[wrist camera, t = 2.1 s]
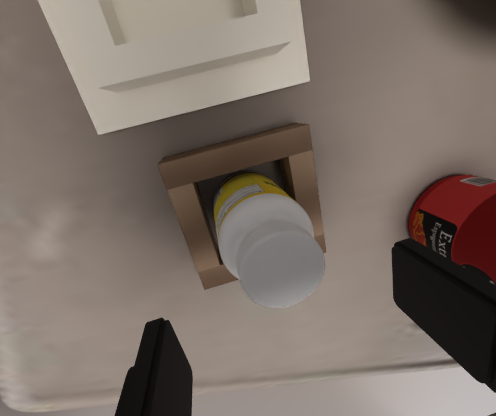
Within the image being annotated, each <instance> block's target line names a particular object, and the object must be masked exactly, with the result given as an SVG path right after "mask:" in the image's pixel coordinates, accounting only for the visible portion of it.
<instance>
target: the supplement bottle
mask: <svg viewBox="0 0 496 416" xmlns="http://www.w3.org/2000/svg"><path fill="white" fill-rule="evenodd" d="M213 212H214V219H215V227H216V232H217V240H218V247H219V252H220V255H221V259H222V261H223V263H224V265H225V266H226V268H227V269H228V270H229V272H230V273H231V274H233V275H234V276H235V277H236V278H238V279H239V280H240V283H241V286H242V288H243V290H244V292H245V293H246V295H247V296H248V297H249V298H250V299H251V300H252V301H254V302H255V303H257V304H259V305H262V306H265V307H270V308H281V307H287V306H291V305H294V304H296V303H298V302H300V301H302V300H304V299H305V298H306V297H308V296H309V295H310V294H311V293H312V292H313V291H314V290H315V289H316V288H317V286H318V285H319V283H320V281H321V279H322V277H323V274H324V270H325V258H324V254H323V251H322V249H321V247H320V245H319V244H318V243H317V241H316V240H315V239H314V230H313V226H312V223H311V220H310V218H309V216H308V215H307V213H306V212H305V210H304V209H303V208H302V207H301V206H300V205H299V204H298V203H297V202H296V201H295V200H293V199H292V198H291V197H290V196H289V195H288V194H287V193H285V192H284V191H283V190H282V189H281V188H280V187H279V186H277V185H276V184H275V183H274V182H273V181H272V180H271V179H269V178H268V177H267V176H265V175H263V174H261V173H258V172H253V171H244V172H239V173H236V174H234V175H232V176H230V177H228V178H227V179H226V180H224V181H223V182H222V183H221V185H220V186H219V187H218V189H217V191H216V193H215V196H214V200H213Z"/></svg>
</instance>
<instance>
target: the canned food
mask: <svg viewBox="0 0 496 416" xmlns="http://www.w3.org/2000/svg"><path fill="white" fill-rule="evenodd" d="M409 231H410V234H411V237H412V238H413V239H414V240H415V241H417V242H419V243H421V244H423V245H424V246H426V247H428V248H430V249H432V250H433V251H435V252H437V253H439V254H441V255H442V256H444V257H446V258H448V259H450V260H451V261H453V262H455V263H457V264H459V265H460V266H462V267H464V268H466V269H468V270H469V271H471V272H473V273H475V274H477V275H478V276H480V277H482V278H484V279H486V280H487V281H489V282H491V283H493V284H495V285H496V180H491V179H487V178H482V177H478V176H473V175H457V176H450V177H446V178H444V179H442V180H439V181H438V182H436V183H434V184H433V185H431V186H430V187H429V188H428V189H427V190H425V192H424V193H423V194H422V195H421V196H420V197H419V199H418V200H417V202H416V203H415V205H414V207H413V209H412V211H411V214H410V218H409Z"/></svg>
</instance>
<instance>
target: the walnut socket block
mask: <svg viewBox="0 0 496 416" xmlns="http://www.w3.org/2000/svg"><path fill="white" fill-rule="evenodd" d="M278 159H280V164H281V170H282V175H283V180H284V186H285V191H286V193H287V194H288V195H289V196H290V197H291V198H292V199H293V200H295V201H296V202H297V203H298V204H299V205H300V206H301V207H302V208H303V209H304V210H305V212H306V213H307V215H308V216H309V218H310V220H311V223H312V226H313V230H314V239H315V240H316V241H317V243H318V244H319V245H320V247H321V249H322V251H323V253H325V252H326V247H325V239H324V232H323V224H322V217H321V210H320V202H319V195H318V188H317V180H316V173H315V165H314V158H313V151H312V143H311V136H310V129H309V124H301V123H294V124H290V125H286V126H282V127H279V128H275V129H271V130H267V131H264V132H260V133H256V134H252V135H249V136H245V137H241V138H237V139H233V140H230V141H226V142H222V143H218V144H215V145H211V146H207V147H203V148H200V149H196V150H192V151H188V152H185V153H181V154H177V155H173V156H170V157H166V158H163V159H162V160H161V161H160V162H159V163H158V168H159V171H160V173H161V176H162V179H163V181H164V184H165V186H166V189H167V192H168V194H169V197H170V200H171V202H172V205H173V208H174V210H175V213H176V215H177V218H178V221H179V223H180V226H181V229H182V231H183V234H184V237H185V239H186V242H187V244H188V247H189V250H190V252H191V255H192V258H193V260H194V263H195V266H196V268H197V271H198V273H199V276H200V279H201V281H202V284H203V287H204V289H205V290H206V289H209V288H212V287H216V286H219V285H222V284H225V283H228V282H232V281H235V280H238V278H236V277H235V276H234V275H233V274H231V273H230V272H229V270H228V269H227V268H226V266H225V265H224V263H223V261H222V259H221V255H220V252H219V249H218V247H217V244H216V241H215V238H214V235H213V232H212V229H211V226H210V223H209V220H208V217H207V214H206V211H205V208H204V205H203V202H202V199H201V195H200V192H199V189H198V186H197V183H196V182H198V181H202V180H205V179H209V178H213V177H216V176H220V175H224V174H227V173H231V172H234V171H238V170H242V169H245V168H249V167H253V166H256V165H260V164H263V163H267V162H271V161H274V160H278Z"/></svg>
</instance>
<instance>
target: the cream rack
mask: <svg viewBox="0 0 496 416" xmlns="http://www.w3.org/2000/svg"><path fill="white" fill-rule="evenodd" d="M38 2H39V4H40V6H41V9H42V11H43V13H44V15H45V17H46V20H47V22H48V24H49V26H50V29H51V31H52V33H53V35H54V37H55V40H56V42H57V44H58V46H59V49H60V51H61V53H62V55H63V57H64V60H65V62H66V64H67V66H68V69H69V71H70V73H71V75H72V77H73V80H74V82H75V84H76V86H77V89H78V91H79V93H80V95H81V97H82V100H83V102H84V104H85V106H86V109H87V111H88V113H89V115H90V117H91V120H92V122H93V124H94V126H95V129H96V131H97V133H98V135H101V134H105V133H109V132H113V131H117V130H121V129H125V128H129V127H133V126H137V125H141V124H145V123H149V122H153V121H157V120H161V119H164V118H168V117H172V116H176V115H180V114H184V113H188V112H192V111H196V110H200V109H204V108H208V107H212V106H216V105H219V104H223V103H227V102H231V101H235V100H239V99H243V98H247V97H251V96H255V95H259V94H263V93H267V92H271V91H275V90H278V89H282V88H286V87H290V86H294V85H298V84H302V83H306V82H309V81H310V76H309V68H308V60H307V52H306V44H305V36H304V28H303V20H302V12H301V4H300V0H38Z"/></svg>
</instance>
